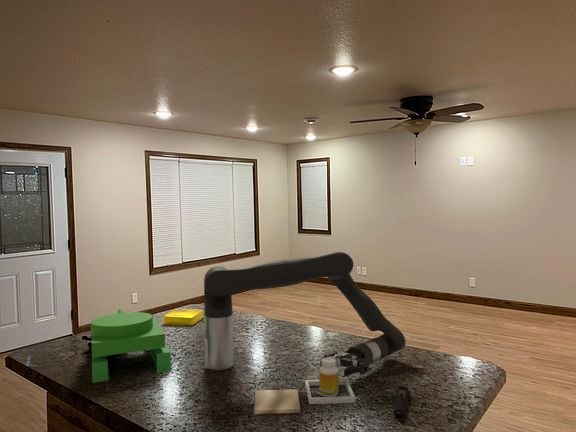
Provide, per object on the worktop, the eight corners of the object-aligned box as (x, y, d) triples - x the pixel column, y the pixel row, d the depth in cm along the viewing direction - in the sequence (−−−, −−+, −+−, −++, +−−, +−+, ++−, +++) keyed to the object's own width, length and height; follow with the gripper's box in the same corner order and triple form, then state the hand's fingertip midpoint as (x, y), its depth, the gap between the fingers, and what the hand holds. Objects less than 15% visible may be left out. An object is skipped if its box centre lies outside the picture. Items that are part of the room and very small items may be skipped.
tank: (158, 342, 175) (157, 302, 175) (172, 371, 143) (171, 321, 143) (92, 351, 165) (91, 308, 165) (91, 384, 133) (90, 331, 133)
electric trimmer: (390, 419, 110) (390, 407, 109) (396, 393, 124) (396, 382, 124) (405, 422, 108) (405, 409, 108) (410, 395, 123) (410, 384, 123)
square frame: (309, 404, 118) (309, 398, 117) (305, 384, 130) (305, 380, 130) (355, 402, 118) (355, 397, 118) (347, 383, 131) (347, 379, 131)
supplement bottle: (337, 398, 121) (337, 363, 121) (318, 396, 122) (318, 362, 122) (339, 390, 126) (339, 357, 126) (320, 388, 127) (320, 356, 127)
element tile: (161, 325, 199) (161, 315, 199) (175, 317, 214) (175, 307, 214) (192, 326, 196) (192, 316, 196) (204, 318, 211) (204, 308, 211)
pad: (253, 413, 112) (253, 410, 112) (255, 393, 124) (255, 390, 124) (300, 412, 113) (300, 408, 113) (297, 392, 125) (297, 389, 125)
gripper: (345, 338, 142) (313, 350, 130) (383, 347, 132) (353, 362, 121) (345, 361, 142) (313, 375, 130) (383, 372, 133) (353, 388, 121)
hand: (332, 369), depth 125 cm, fingers open, 8 cm apart
